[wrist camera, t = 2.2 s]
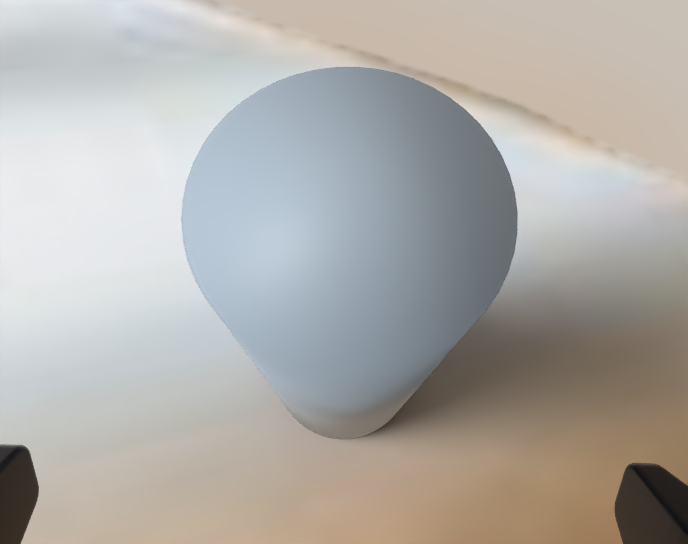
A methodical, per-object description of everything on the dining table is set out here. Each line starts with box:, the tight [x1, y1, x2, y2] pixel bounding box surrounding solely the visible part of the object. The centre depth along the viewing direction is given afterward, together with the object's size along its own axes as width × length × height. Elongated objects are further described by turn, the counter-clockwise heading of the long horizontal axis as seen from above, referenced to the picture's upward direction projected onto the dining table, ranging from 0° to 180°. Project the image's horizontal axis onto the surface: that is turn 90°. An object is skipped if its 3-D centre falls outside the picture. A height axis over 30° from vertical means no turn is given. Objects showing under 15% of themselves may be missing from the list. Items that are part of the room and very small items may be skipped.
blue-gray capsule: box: [181, 67, 517, 439], centre depth 14 cm, size 4×4×12 cm
